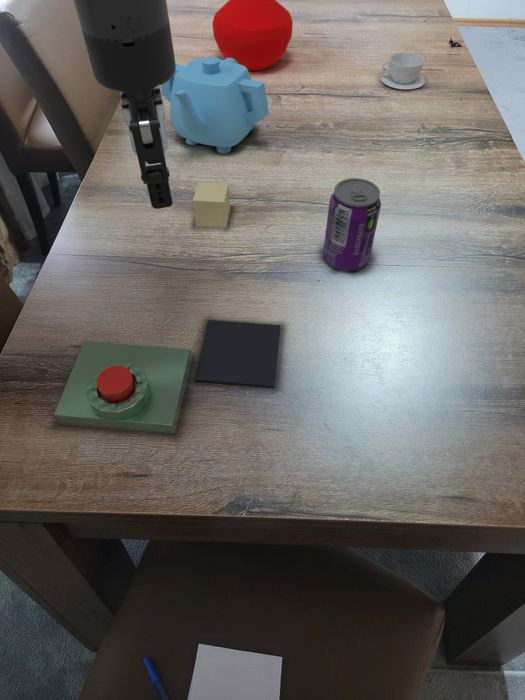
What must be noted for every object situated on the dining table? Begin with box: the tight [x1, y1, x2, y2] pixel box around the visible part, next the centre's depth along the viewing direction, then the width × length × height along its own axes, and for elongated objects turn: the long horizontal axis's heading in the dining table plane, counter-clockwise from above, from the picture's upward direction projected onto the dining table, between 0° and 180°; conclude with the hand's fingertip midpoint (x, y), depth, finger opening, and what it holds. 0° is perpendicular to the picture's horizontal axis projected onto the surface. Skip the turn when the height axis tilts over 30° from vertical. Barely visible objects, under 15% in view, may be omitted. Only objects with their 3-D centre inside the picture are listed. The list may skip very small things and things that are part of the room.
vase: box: [212, 0, 294, 72], centre depth 111 cm, size 18×18×19 cm
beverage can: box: [322, 177, 382, 271], centre depth 71 cm, size 7×7×12 cm
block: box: [192, 181, 231, 229], centre depth 80 cm, size 5×5×5 cm
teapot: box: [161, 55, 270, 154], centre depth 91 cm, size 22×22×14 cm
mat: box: [194, 319, 281, 389], centre depth 64 cm, size 10×10×1 cm
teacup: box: [380, 51, 426, 90], centre depth 110 cm, size 10×10×5 cm
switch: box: [96, 366, 135, 402], centre depth 56 cm, size 4×4×2 cm
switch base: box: [53, 340, 193, 435], centre depth 60 cm, size 14×11×4 cm
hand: (159, 183), depth 55 cm, fingers open, 8 cm apart
